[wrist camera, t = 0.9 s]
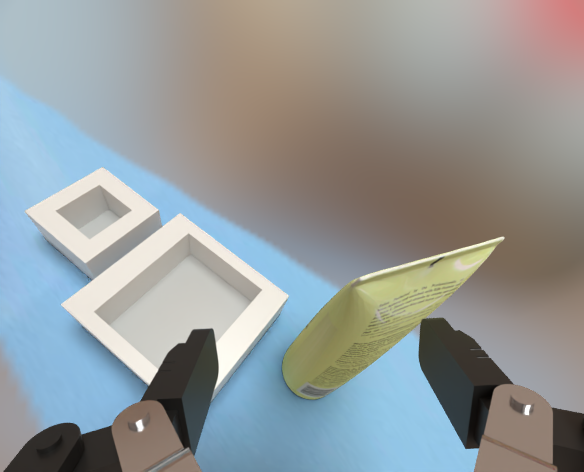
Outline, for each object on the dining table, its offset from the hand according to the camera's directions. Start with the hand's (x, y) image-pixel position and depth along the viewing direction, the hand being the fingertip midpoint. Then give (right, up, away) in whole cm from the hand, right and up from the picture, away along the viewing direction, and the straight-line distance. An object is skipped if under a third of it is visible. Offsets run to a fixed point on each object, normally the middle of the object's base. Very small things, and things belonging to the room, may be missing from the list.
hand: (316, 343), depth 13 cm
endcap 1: (-18, +4, +18) cm, 26 cm away
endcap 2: (-10, -3, +16) cm, 19 cm away
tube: (+1, -7, +16) cm, 17 cm away
